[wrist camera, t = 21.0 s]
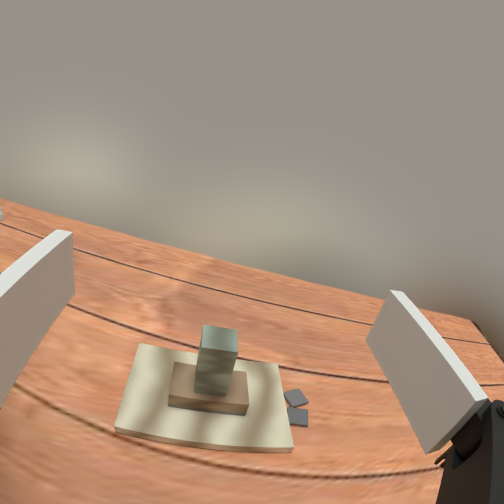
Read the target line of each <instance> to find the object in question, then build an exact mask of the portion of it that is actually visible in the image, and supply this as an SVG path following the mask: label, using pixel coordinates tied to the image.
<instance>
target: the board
mask: <svg viewBox="0 0 504 504" xmlns="http://www.w3.org/2000/svg"><path fill="white" fill-rule="evenodd" d="M197 358H198V354H196V353H190V352H184V351H178V350H173V349H167V348H162V347H157V346H152V345H147V344H143V343H139V346H138V349H137V352H136V355H135V358H134V362H133V365H132V368H131V371H130V374H129V377H128V380H127V384H126V387H125V390H124V393H123V397H122V400H121V404H120V407H119V410H118V414H117V418H116V421H115V425H114V428H115V432H118V433H122V434H126V435H130V436H134V437H138V438H143V439H148V440H153V441H158V442H163V443H169V444H175V445H182V446H189V447H196V448H205V449H214V450H225V451H239V452H263V453H290V452H291V451H292V450H293V448H294V444H293V439H292V434H291V429H290V424H289V419H288V414H287V409H286V404H285V399H284V394H283V389H282V384H281V379H280V374H279V369H278V364H273V363H263V362H253V361H245V360H237V359H236V362H235V365H234V369H233V370H235V371H244V372H246V373H247V384H248V395H249V407H248V410H247V412H246V415H245V416H238V415H227V414H218V413H209V412H201V411H194V410H187V409H181V408H175V407H169V406H168V397H169V389H170V383H171V377H172V371H173V366H174V362H180V363H186V364H192V365H196V364H197Z"/></svg>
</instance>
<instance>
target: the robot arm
mask: <svg viewBox="0 0 504 504" xmlns="http://www.w3.org/2000/svg"><path fill="white" fill-rule="evenodd" d="M74 294H75V284H74V267H73V232H68V231H63V230H58V229H57V230H55V231H54V232H53V233H51V234H50V235H49V236H47V237H46V238H45V239H43V240H42V241H41V242H39V243H38V244H37V245H35V246H34V247H33V248H32V249H30V250H29V251H28V252H26V253H25V254H24V255H23V256H22V257H20V258H19V259H18V260H17V261H15V262H14V263H13V264H12V265H11V266H9V267H8V268H7V269H6V270H5V271H4V272H2V273H1V274H0V408H1V406H2V404H3V402H4V401H5V399H6V397H7V395H8V393H9V392H10V390H11V388H12V386H13V385H14V383H15V381H16V380H17V378H18V376H19V375H20V373H21V371H22V370H23V368H24V366H25V365H26V363H27V362H28V360H29V358H30V357H31V355H32V354H33V352H34V351H35V349H36V348H37V346H38V345H39V343H40V342H41V340H42V339H43V337H44V336H45V334H46V333H47V331H48V330H49V328H50V327H51V326H52V324H53V323H54V321H55V320H56V319H57V317H58V316H59V314H60V313H61V312H62V310H63V309H64V308H65V306H66V305H67V304H68V302H69V301H70V300H71V298H72V297H73V296H74ZM366 342H367V343H368V345H369V347H370V349H371V351H372V352H373V354H374V356H375V358H376V360H377V361H378V363H379V365H380V367H381V369H382V370H383V372H384V374H385V376H386V378H387V380H388V382H389V383H390V385H391V387H392V389H393V391H394V393H395V395H396V397H397V398H398V400H399V402H400V404H401V406H402V408H403V410H404V412H405V414H406V416H407V418H408V420H409V422H410V424H411V426H412V428H413V430H414V432H415V434H416V436H417V438H418V440H419V442H420V444H421V446H422V448H423V450H424V452H425V454H428V453H431V452H435V451H438V450H440V449H441V448H442V447H443V446H444V445H445V444H446V443H447V442H448V441H449V440H450V439H451V441H452V443H453V445H452V446H451V447H450V448H449V449H448V450H447V451H446V452H444V453H443V454H442V455H441V456H440V457H439V458H438V459H437V460H436V461H435V463H434V464H436V465H437V464H438V463H439V462H440V461H441V460H443V459H446V460H445V461H444V462H443V463H442V464H441V465H440V466H441V467H443V468H444V471H443V476H442V480H441V485H440V489H439V493H438V497H437V501H436V504H504V402H503V401H500V400H494V401H493V402H492V403H491V402H490V400H489V399H488V397H487V395H486V394H485V392H484V391H483V390H482V388H481V387H480V386H479V384H478V383H477V382H476V380H475V379H474V378H473V376H472V375H471V374H470V372H469V371H468V370H467V368H466V367H465V366H464V364H463V363H462V362H461V361H460V359H459V358H458V357H457V355H456V354H455V353H454V352H453V350H452V349H451V348H450V347H449V345H448V344H447V343H446V342H445V341H444V339H443V338H442V337H441V336H440V334H439V333H438V332H437V331H436V330H435V328H434V327H433V326H432V325H431V324H430V323H429V321H428V320H427V319H426V318H425V317H424V316H423V314H422V313H421V312H420V311H419V310H418V309H417V307H416V306H415V305H414V304H413V303H412V302H411V301H410V300H409V298H408V297H407V296H406V295H405V294H404V293H403V292H399V291H393V290H390V291H389V293H388V295H387V297H386V299H385V302H384V304H383V306H382V308H381V310H380V312H379V314H378V316H377V318H376V320H375V322H374V324H373V326H372V328H371V330H370V332H369V334H368V336H367V338H366Z"/></svg>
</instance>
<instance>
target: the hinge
mask: <svg viewBox="0 0 504 504" xmlns="http://www.w3.org/2000/svg"><path fill="white" fill-rule="evenodd" d="M0 220H3V214H2V210H1V206H0Z"/></svg>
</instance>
